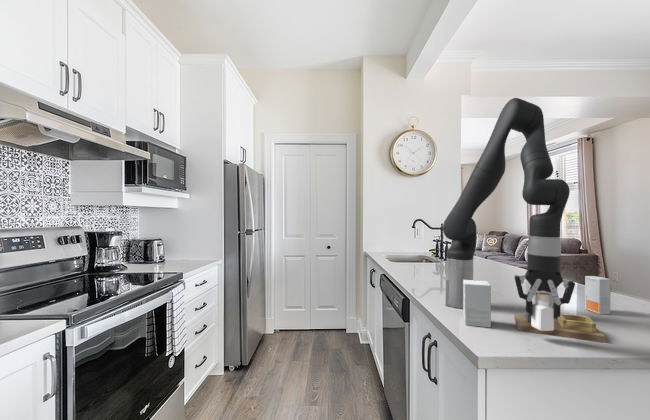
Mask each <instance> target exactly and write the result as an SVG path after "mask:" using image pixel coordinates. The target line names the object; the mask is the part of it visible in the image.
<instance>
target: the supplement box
mask: <svg viewBox="0 0 650 420" xmlns="http://www.w3.org/2000/svg"><path fill="white" fill-rule="evenodd" d="M462 310H463V311H462V318H463V322H464V325H465V326H472V327H484V328H491V327H492V286H491V284H490V283H489V281H488V280H474V279H473V280H463V308H462Z"/></svg>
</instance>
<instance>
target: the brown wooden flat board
mask: <svg viewBox="0 0 650 420" xmlns="http://www.w3.org/2000/svg"><path fill="white" fill-rule="evenodd" d="M525 312H526V313H525V314H526V315H525V314H517V313H514V315H513V316H514V322H515V327H516V330H517V331H519V332H520V331H521V332H525V333H526V332H527V333H535V334H541V335H547V336H548V335H549V336H556V337H562V338H570V339H576V340H577V339H578V340H585V341H593V342H598V343H605V342H606V336H605V335H604V334H603V333H602V332H601V331H600V330H599V329H598V328H597V323H596V322H595V321H594V320H593V319H591V317H589V316H588V315H586V316H585V315H579V314H578V315H577V314H570V313H561V312H560V317H557V319H554V330H553V331H540V330H538V329H536V328H534V327H532V325H531V315H529V313H527V311H526V310H525Z"/></svg>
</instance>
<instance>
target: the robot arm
mask: <svg viewBox="0 0 650 420" xmlns="http://www.w3.org/2000/svg"><path fill="white" fill-rule="evenodd" d="M511 130H513V131H516V132H518V133H521V134H522V135H523V136H524V139H525V141H526V142H525V143H524V145H523V146H522V148H521V151H520V154H519V155H520V163H521V166H522V170H523V185H522V186H523V187H522V191H521V193H522V194H521V195H522V198H523V200H524V202H525V203H526V204H528V205H530V206H548V209H547V210H546V211H545V212H543V213H542V212H541V213H536V214H533V215H531V216H530V217H529V222H528V223H529V224H528V225H529V226H528V229H529V231H528V241H527V249H526V251H527V262H526V263H527V264H526V265H527V269H526V270H527V271H526V273H525V274H524V275H523V274H522V275H518V274H516V275H514V281H515V286H516V289H517V294H518V297H519V298H520V299H523V300H525V312H526V311H527V313H529V315H532V306H533V304H534V302H533V299H534V298H535V293H536V291H546V292H551V295H552V297H553V299H554V303H553V308H554V319H558V317H560V313H561V307H562V306H561V305H564V304H566V305H568V304H570V301H571V299H572V296H573V293H574V289H575V287H576V283H575V281H573V280H571V279H566V278H563V277H562V274H561V272H562V271H561V270H562V268H561V267H562V262H561V261H562V243H561V222H562V217H563V214H564V211H565V208H566V205H567V203H568V200H569V197H570V191H571V190H570V187H569V185H568V183H567V182H566V180H563V179H559V178H552V179H551V178H550V177H551V176H552V175H553V173H554V165H553V163H552V160H551V157H550V154H549V151H548V148H547V144H546V142H547V141H546V132H545V131H546V130H545V119H544V113H543V110H542V108H541V107H540V106H538V105H537V104H535V103H533V102H530V101H526V100H525V99H522V98H519V97H514V98H510V100H508V101H507V102H506V103H505V105H504V106H503V107H502V109H501V112H500V113H499V116H498V118H497V120H496V123H495V125H494V127H493V129H492V132H491V134H490V137H489V140H488V141H487V143H486V145H485V147H484V149H483V152H482V153H481V156H480V157H479V159H478V161H477V163H476V164H475V166H474V168H473V170H472V171H471V174H470V176H469V178H468V180H467V182H466V184H465V186H464V187H463V190H462V192H461V194H460V196H459V198H458V199H457V201H456V203H455V205H454V206H453V207H452V209H451V211H450V212H449V213H448V215H447V217H446V218H445V220H444V222H443V224H442V232H443V234H444V235H443V236H445V237H446V238H447V239H448V240H451V244H450V247H449V248H448V249H447V251H446V271H445V272H446V278H445V306H447V307H448V306H449V307H451V308H456V309H463V280H474V255H475V253H476V250H477V249H476V248H477V224H476V222H475V220H474V218H473V216H474V214H475V212H476V211H477V210H478V208H479V207H481V205H482V203H484V202H485V201H486V200H487V199H488V198H489V197H490V196H491V195H492V193H493V192H494V191H495V190H496V189H497V187H498V185H499V183H500V182H501V180H502V178H503V176H504V174H505V172H506V142H507V139H508V136H509V134H510V132H511ZM525 280H526V281H527V282H528V283H529V285H530V286H529V288H528V291H527V293H524V289H523V285H522V284H524V282H525ZM562 283H563V287H564V288H565V289H564V292H563V295H562V297H559V294H558V290H557V291H556V288H557V289H558V287H559V286H560V285H561V284H562Z"/></svg>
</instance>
